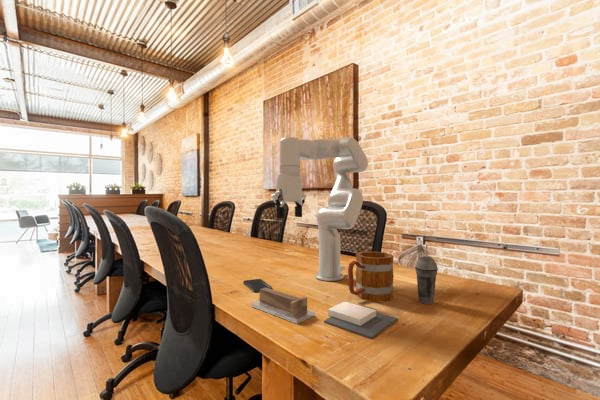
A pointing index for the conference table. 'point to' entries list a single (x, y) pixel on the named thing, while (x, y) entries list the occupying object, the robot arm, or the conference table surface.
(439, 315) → the conference table surface
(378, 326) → the mat
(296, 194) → the robot arm
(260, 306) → the tool rest
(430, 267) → the beverage cup
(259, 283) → the phone
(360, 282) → the mug
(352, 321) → the tile
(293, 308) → the brown t-shaped post
